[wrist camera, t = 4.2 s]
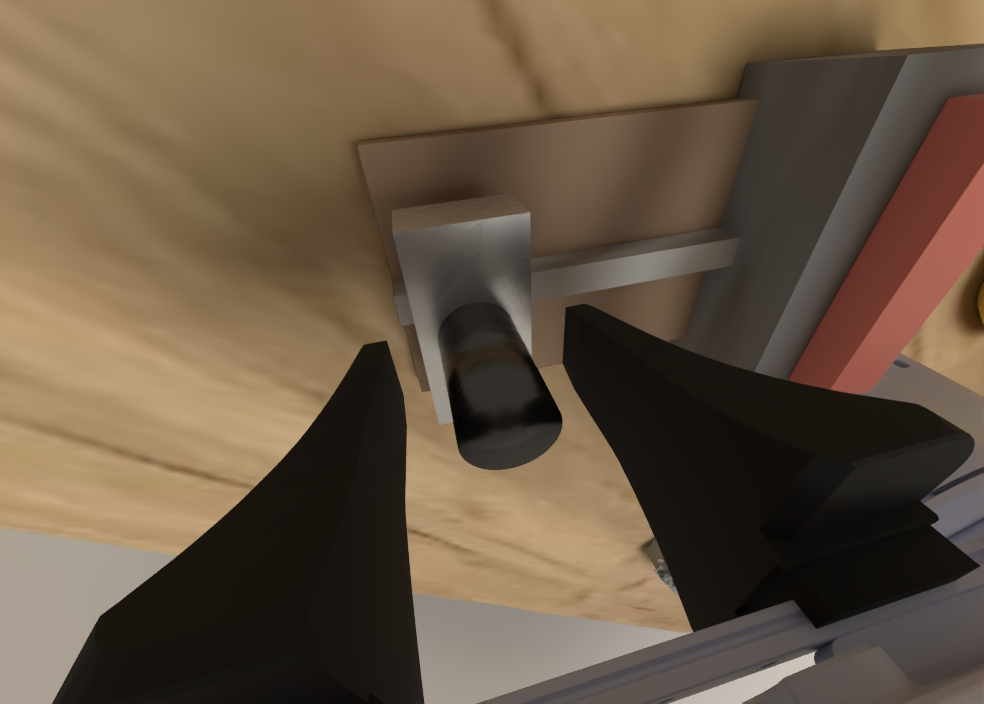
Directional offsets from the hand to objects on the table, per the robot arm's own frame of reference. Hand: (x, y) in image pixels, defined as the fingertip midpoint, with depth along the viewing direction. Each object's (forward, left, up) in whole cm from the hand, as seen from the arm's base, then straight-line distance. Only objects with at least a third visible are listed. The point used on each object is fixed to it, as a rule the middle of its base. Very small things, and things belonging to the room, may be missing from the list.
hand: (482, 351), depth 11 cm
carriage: (0, 0, -4) cm, 4 cm away
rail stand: (-7, 0, -5) cm, 9 cm away
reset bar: (-14, 0, 0) cm, 14 cm away
